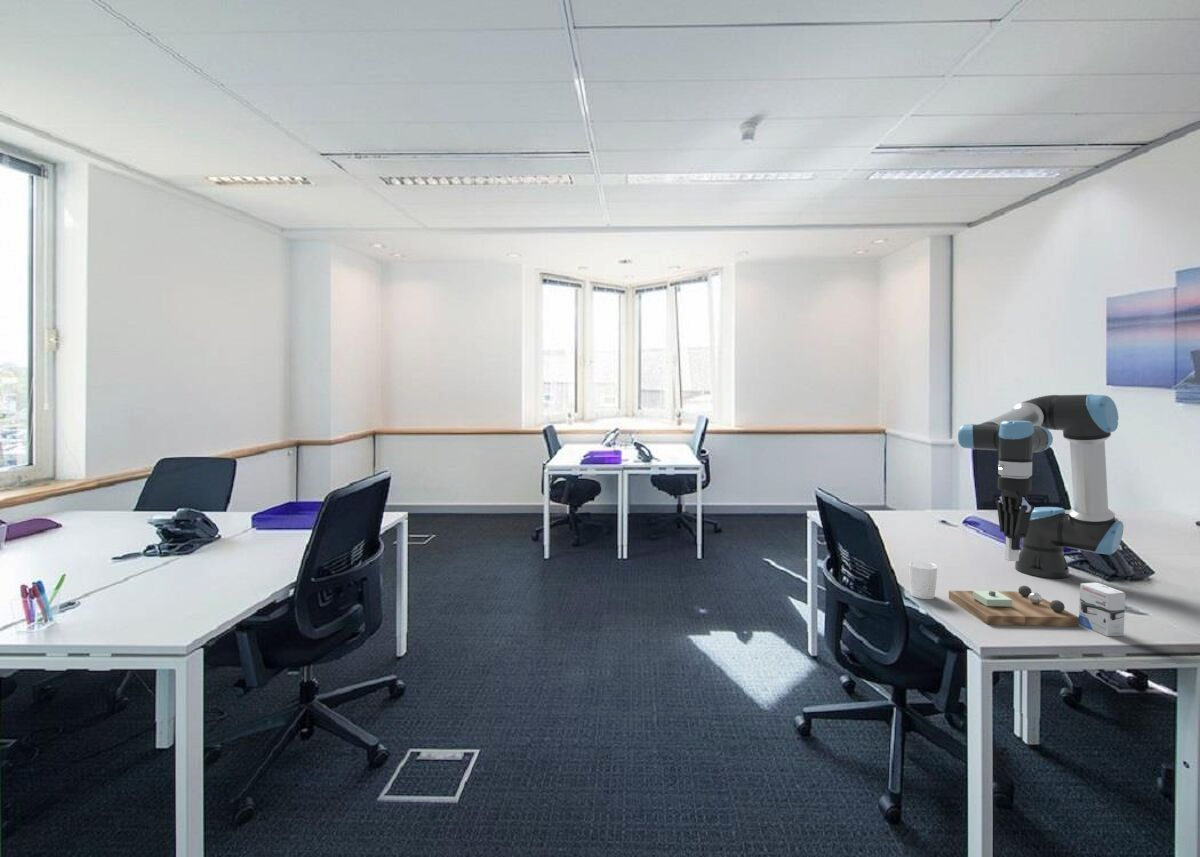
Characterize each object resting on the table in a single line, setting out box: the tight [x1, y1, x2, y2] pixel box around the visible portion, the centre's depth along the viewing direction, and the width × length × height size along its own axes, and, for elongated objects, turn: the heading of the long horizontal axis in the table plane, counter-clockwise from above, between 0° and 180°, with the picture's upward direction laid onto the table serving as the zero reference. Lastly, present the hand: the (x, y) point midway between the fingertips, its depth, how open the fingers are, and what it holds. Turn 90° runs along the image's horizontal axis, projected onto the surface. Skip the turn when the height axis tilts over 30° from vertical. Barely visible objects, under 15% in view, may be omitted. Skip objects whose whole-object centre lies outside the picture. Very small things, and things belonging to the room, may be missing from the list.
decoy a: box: [1017, 585, 1033, 597], centre depth 169 cm, size 3×3×3 cm
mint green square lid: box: [972, 590, 1012, 607], centre depth 164 cm, size 7×7×3 cm
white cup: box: [908, 561, 938, 600], centre depth 178 cm, size 8×8×10 cm
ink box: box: [1078, 582, 1126, 637], centre depth 151 cm, size 8×5×12 cm, turn 5°
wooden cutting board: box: [948, 590, 1080, 627], centre depth 164 cm, size 24×20×2 cm
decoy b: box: [1050, 599, 1066, 612], centre depth 157 cm, size 3×3×3 cm
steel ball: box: [1028, 592, 1043, 604], centre depth 163 cm, size 3×3×3 cm
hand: (1011, 560), depth 155 cm, fingers closed
